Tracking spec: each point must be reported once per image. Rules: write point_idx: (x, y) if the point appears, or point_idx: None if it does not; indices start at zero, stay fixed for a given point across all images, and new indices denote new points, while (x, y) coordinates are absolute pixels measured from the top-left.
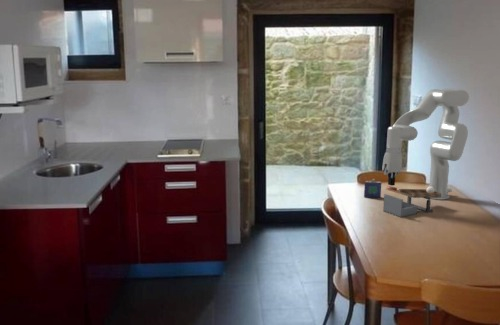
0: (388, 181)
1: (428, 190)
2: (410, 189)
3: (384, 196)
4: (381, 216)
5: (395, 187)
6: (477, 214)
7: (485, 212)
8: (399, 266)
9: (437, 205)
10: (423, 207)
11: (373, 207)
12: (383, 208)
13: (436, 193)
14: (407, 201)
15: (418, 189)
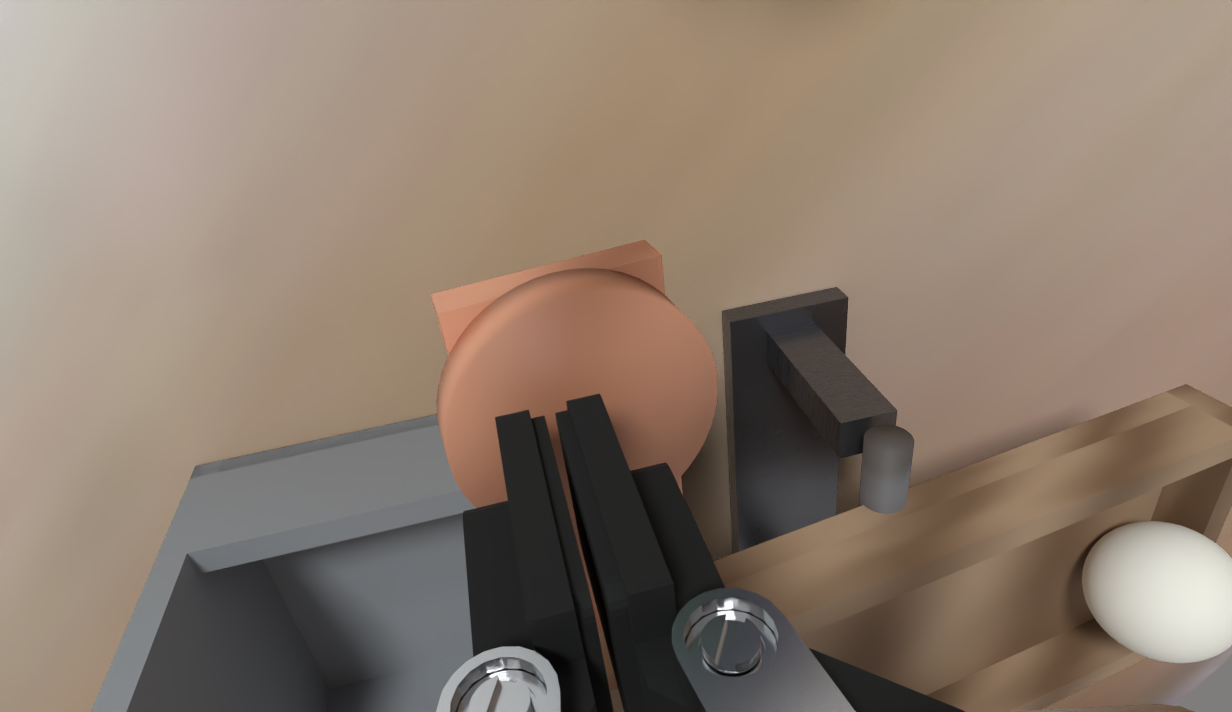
0: (468, 550)
1: (1107, 619)
2: (851, 613)
3: (106, 697)
4: (53, 637)
5: (682, 427)
6: (1073, 697)
7: (1174, 668)
8: None
9: (1085, 419)
10: (830, 510)
11: (103, 229)
12: (182, 500)
13: (1081, 686)
14: (784, 358)
15: (1056, 529)
